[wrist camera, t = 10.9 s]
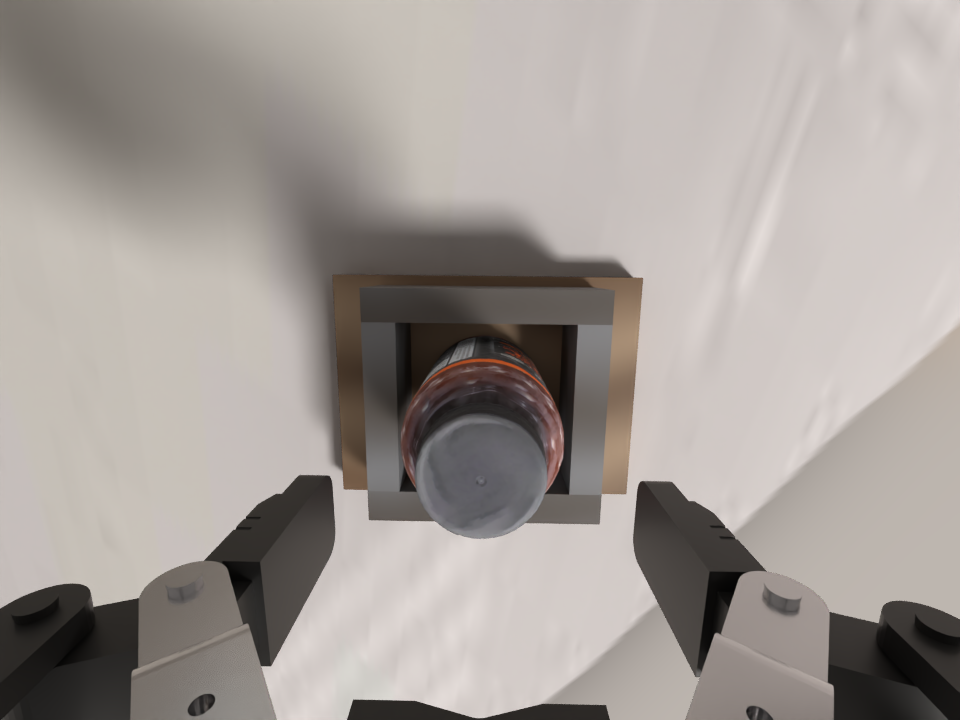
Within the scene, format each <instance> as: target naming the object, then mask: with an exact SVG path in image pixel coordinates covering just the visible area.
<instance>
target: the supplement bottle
mask: <svg viewBox="0 0 960 720" xmlns="http://www.w3.org/2000/svg"><path fill="white" fill-rule="evenodd" d="M563 453H564V430H563V426H562V421H561V417H560V414H559V412H558V410H557V408H556V405H555V403H554V400H553V398H552V396H551V394H550V393H549V390H548V389H547V387H546V385H545V383H544V381H543V380H542V378H541V376H540V374H539V372H538V370H537V368H536V366H535V365H534V363H533V362H532V360H531V358H530V357H529V356H528V355H527V354H526V353H525V352H524V351H523V350H522V349H520V348H519V347H518V346H516V345H515V344H513V343H511V342H510V341H507V340H505V339H503V338H499V337H495V336H490V335H480V336H474V337H469V338H465V339H463V340H461V341H458V342H457V343H455V344H453V345H452V346H450V347H449V348H448V349H447V350H446V351H445V352H444V353H443V354H442V355H441V356H440V357H439V359H438V360H437V361H436V363H435V364H434V366H433V367H432V369H431V371H430V372H429V374H428V376H427V377H426V379H425V381H424V382H423V384H422V385H421V387H420V389H419V390H418V392H417V393H416V395H415V397H414V399H413V400H412V402H411V404H410V405H409V408H408V410H407V412H406V415H405V418H404V422H403V426H402V430H401V455H402V458H403V463H404V466H405V469H406V472H407V474H408V476H409V478H410V480H411V481H412V483H413V485H414V486H415V488H416V491H417V494H418V497H419V500H420V502H421V503H422V505H423V507H424V509H425V510H426V511H427V513H428V514H429V516H430V517H431V518H432V519H433V520H434V521H435V522H437V523H438V524H439V525H441V526H442V527H443V528H445V529H447V530H448V531H450V532H452V533H454V534H457V535H462V536H464V537H470V538H477V539H481V538H484V539H485V538H494V537H498V536H502V535H505V534H508V533H510V532H512V531H514V530H516V529H517V528H519V527H520V526H522V525H523V524H524V523H526V522H527V521H528V520H529V519H530V518H531V517H532V516H533V514H534V513H535V512H536V511H537V509H538V507H539V506H540V504H541V502H542V500H543V498H544V495H545V493H546V491H547V490H548V489H549V487H550V486H551V485H552V483H553V481H554V479H555V477H556V475H557V473H558V471H559V469H560V466H561V462H562V459H563Z"/></svg>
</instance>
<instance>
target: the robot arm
mask: <svg viewBox="0 0 960 720" xmlns="http://www.w3.org/2000/svg"><path fill="white" fill-rule="evenodd" d="M334 541H335V519H334V503H333V487H332V480H331V478H330V476H322V475H299V476H298V477H297V478H296V479H295V480H294V481H293V482H292V483H291V484H290V486H289V487H288V488H287V489H286V490H285V491H284V492H283V493H282V494H275V495H273V496H272V497H270V498H268V499H266V500H265V501H263V502H261V503H260V504H258V505H257V506H256V507H255V508H254V509H253V510H252V511H251V512H250V513H249V514H248V515H247V516H246V519H244V520H243V521H242V522H241V523H240V524H239V525H238V526H237V527H236V530H233V531H232V532H231V533H230V534H229V535H228V536H227V537H226V538H225V539H224V540H223V541H222V543H221V544H220V545H219V546H218V547H217V548H216V549H215V550H214V551H213V552H212V553H211V554H210V555H209V556H208V557H207V558H206V559H205V560H204V561H199V562H193V563H188V564H185V565H182V566H179V567H176V568H174V569H171V570H169V571H167V572H165V573H163V574H162V575H160V576H159V577H157V578H155V579H154V580H153V581H152V582H150V583H149V584H148V585H147V586H146V587H145V588H144V590H143V591H142V593H141V595H140V597H139V598H137V599H133V600H127V601H122V602H117V603H112V604H107V605H101V606H96V607H93V602H92V597H91V592H90V589H89V588H88V587H86V586H84V585H81V584H62V585H56V586H52V587H48V588H45V589H41V590H38V591H35V592H33V593H30V594H28V595H25V596H23V597H21V598H19V599H17V600H15V601H13V602H11V603H9V604H7V605H6V606H4V607H2V608H1V609H0V720H277V719H276V715H275V712H274V708H273V705H272V702H271V698H270V695H269V692H268V688H267V685H266V681H265V678H264V675H263V671H262V668H261V666H271V665H272V664H273V662H274V660H275V658H276V656H277V654H278V652H279V651H280V649H281V647H282V645H283V643H284V641H285V639H286V638H287V636H288V634H289V632H290V630H291V628H292V626H293V625H294V623H295V621H296V619H297V617H298V615H299V613H300V612H301V610H302V608H303V606H304V604H305V602H306V600H307V599H308V597H309V595H310V593H311V591H312V589H313V587H314V586H315V584H316V582H317V580H318V578H319V576H320V574H321V573H322V571H323V569H324V567H325V565H326V563H327V561H328V560H329V558H330V556H331V553H332V550H333V546H334ZM633 544H634V552H635V556H636V559H637V562H638V564H639V566H640V568H641V570H642V572H643V574H644V576H645V578H646V580H647V582H648V584H649V586H650V588H651V590H652V592H653V594H654V596H655V598H656V600H657V602H658V604H659V606H660V608H661V610H662V611H663V613H664V615H665V617H666V619H667V621H668V623H669V625H670V627H671V629H672V631H673V633H674V635H675V637H676V639H677V641H678V643H679V645H680V647H681V649H682V651H683V653H684V655H685V657H686V659H687V661H688V663H689V664H690V667H691V669H692V671H693V672H694V675H695V677H700V678H699V681H698V684H697V687H696V690H695V693H694V696H693V699H692V702H691V705H690V708H689V710H688V713H687V716H686V719H685V720H960V619H958V618H956V617H953V616H952V615H949V614H947V613H945V612H943V611H940V610H938V609H935V608H932V607H929V606H926V605H922V604H918V603H913V602H907V601H892V602H889V603H886V604H885V605H884V606H883V608H882V611H881V616H880V620H879V623H874V622H870V621H866V620H861V619H857V618H853V617H848V616H844V615H839V614H836V613H831V612H829V609H828V607H827V605H826V604H825V602H824V601H823V599H822V598H821V597H820V596H819V595H817V594H816V593H815V592H814V591H813V590H811V589H810V588H808V587H807V586H805V585H803V584H802V583H800V582H798V581H796V580H794V579H791V578H789V577H786V576H783V575H780V574H777V573H772V572H767V571H766V570H765V569H764V568H763V567H762V566H761V565H760V564H759V562H758V561H757V560H756V559H755V558H754V557H753V556H752V555H751V554H750V553H749V552H748V550H747V549H746V548H745V547H744V546H743V545H742V544H741V543H740V542H739V541H738V540H736V539H735V536H734V535H733V534H732V533H731V532H730V531H729V530H728V528H725V525H724V524H723V523H722V522H721V521H720V520H719V519H718V518H717V516H716V515H715V514H714V513H713V512H711V511H709V510H708V509H706V508H705V507H703V506H701V505H700V504H698V503H696V502H695V501H688V500H687V499H686V498H685V496H684V495H683V494H682V493H681V492H680V491H679V489H678V488H677V487H676V486H675V485H674V484H673V483H672V482H661V481H641V482H640V483H639V486H638V490H637V501H636V512H635V523H634V534H633ZM347 720H610V719H609V715H608V711H607V708H606V705H570V704H541V705H537V706H533V707H528V708H524V709H520V710H516V711H512V712H508V713H504V714H499V715H495V716H491V717H487V718H472V717H469V716H465V715H462V714H458V713H455V712H451V711H448V710H444V709H441V708H437V707H434V706H431V705H427V704H424V703H420V702H417V701H392V700H353V702H352V705H351V709H350V712H349V715H348V718H347Z"/></svg>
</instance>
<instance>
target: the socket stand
mask: <svg viewBox="0 0 960 720" xmlns="http://www.w3.org/2000/svg"><path fill="white" fill-rule="evenodd" d="M642 284H643V278H626V277H526V276H426V275H333V292H334V311H335V330H336V349H337V369H338V388H339V407H340V426H341V445H342V465H343V484H344V489H354V490H368V509H369V520H391V521H434V520H433V519H432V518H431V517H430V516H429V514H428V513H427V511H426V510H425V509H424V507H423V505H422V503H421V502H420V500H419V497H418V494H417V491H416V488H415V486H414V485H413V483H412V481H411V480H410V478H409V476H408V474H407V472H406V469H405V466H404V463H403V458H402V455H401V430H402V426H403V422H404V418H405V415H406V412H407V410H408V408H409V405H410V404H411V402H412V400H413V399H414V397H415V395H416V393H417V392H418V390H419V389H420V387H421V385H422V384H423V382H424V381H425V379H426V377H427V376H428V374H429V372H430V371H431V369H432V367H433V366H434V364H435V363H436V361H437V360H438V359H439V357H440V356H441V355H442V354H443V353H444V352H445V351H446V350H447V349H448V348H449V347H450V346H452V345H453V344H455V343H457V342H458V341H461V340H463V339H465V338H469V337H474V336H480V335H490V336H495V337H499V338H503V339H505V340H507V341H510V342H511V343H513V344H515V345H516V346H518V347H519V348H520V349H522V350H523V351H524V352H525V353H526V354H527V355H528V356H529V357H530V358H531V360H532V362H533V363H534V365H535V366H536V368H537V370H538V372H539V374H540V376H541V378H542V380H543V381H544V383H545V385H546V387H547V389H548V390H549V393H550V394H551V396H552V398H553V400H554V403H555V405H556V408H557V410H558V412H559V414H560V417H561V421H562V426H563V430H564V453H563V459H562V462H561V466H560V469H559V471H558V473H557V475H556V477H555V479H554V481H553V483H552V485H551V486H550V487H549V489H548V490H547V491H546V493H545V495H544V498H543V500H542V502H541V504H540V506H539V507H538V509H537V511H536V512H535V513H534V514H533V516H532V517H531V518H530V519H529V520H528V521H527V522H526V523H555V524H600V509H601V494H626V490H627V477H628V464H629V451H630V439H631V426H632V413H633V400H634V387H635V374H636V361H637V349H638V336H639V323H640V310H641V297H642Z"/></svg>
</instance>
